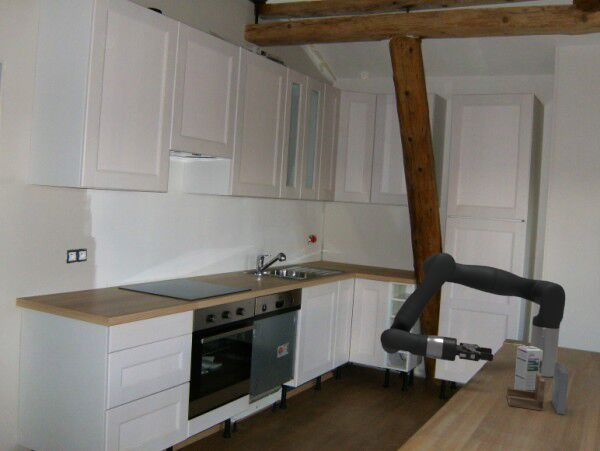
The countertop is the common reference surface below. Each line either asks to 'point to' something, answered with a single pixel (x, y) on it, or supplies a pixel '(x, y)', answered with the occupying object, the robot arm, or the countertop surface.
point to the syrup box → (527, 367)
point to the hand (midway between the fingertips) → (492, 354)
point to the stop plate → (559, 388)
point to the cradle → (528, 395)
